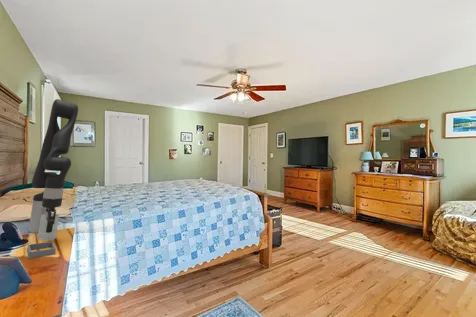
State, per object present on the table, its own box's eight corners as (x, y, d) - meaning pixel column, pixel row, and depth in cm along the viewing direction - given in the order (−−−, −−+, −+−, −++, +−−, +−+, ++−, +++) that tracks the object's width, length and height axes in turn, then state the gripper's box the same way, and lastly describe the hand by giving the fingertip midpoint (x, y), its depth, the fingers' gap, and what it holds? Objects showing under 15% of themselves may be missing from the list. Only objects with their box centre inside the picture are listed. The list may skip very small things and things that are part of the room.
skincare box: (56, 238, 112) (59, 214, 113) (47, 241, 108) (51, 216, 109) (45, 236, 113) (48, 213, 113) (36, 239, 109) (40, 214, 109)
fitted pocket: (26, 250, 101) (27, 244, 101) (52, 246, 107) (52, 241, 107) (28, 258, 94) (29, 252, 94) (55, 254, 100) (55, 248, 100)
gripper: (41, 194, 114) (36, 227, 113) (44, 199, 104) (38, 235, 103) (60, 194, 119) (55, 225, 118) (64, 199, 109) (59, 233, 108)
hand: (47, 230), depth 111 cm, fingers closed on skincare box, 7 cm apart
